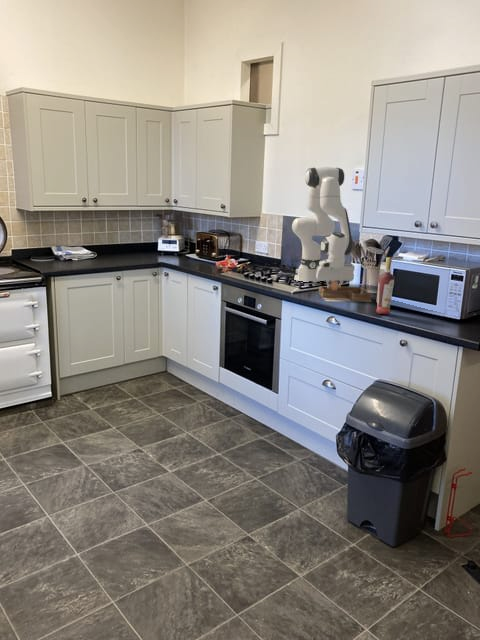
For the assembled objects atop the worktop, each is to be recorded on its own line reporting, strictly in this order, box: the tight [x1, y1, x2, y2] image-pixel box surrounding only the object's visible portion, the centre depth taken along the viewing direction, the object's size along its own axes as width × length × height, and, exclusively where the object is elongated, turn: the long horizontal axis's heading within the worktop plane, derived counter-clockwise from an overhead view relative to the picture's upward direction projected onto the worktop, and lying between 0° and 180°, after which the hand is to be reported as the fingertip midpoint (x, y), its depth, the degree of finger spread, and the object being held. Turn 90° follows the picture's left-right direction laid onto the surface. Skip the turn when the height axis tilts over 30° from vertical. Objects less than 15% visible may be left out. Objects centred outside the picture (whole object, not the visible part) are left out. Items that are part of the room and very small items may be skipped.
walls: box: [318, 285, 372, 303], centre depth 291 cm, size 17×24×4 cm
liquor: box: [375, 256, 396, 315], centre depth 261 cm, size 7×7×28 cm
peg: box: [329, 280, 339, 290], centre depth 293 cm, size 4×4×8 cm
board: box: [321, 296, 373, 303], centre depth 292 cm, size 17×25×1 cm
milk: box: [375, 261, 386, 304], centre depth 283 cm, size 6×6×22 cm
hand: (333, 288), depth 293 cm, fingers closed on peg, 4 cm apart
